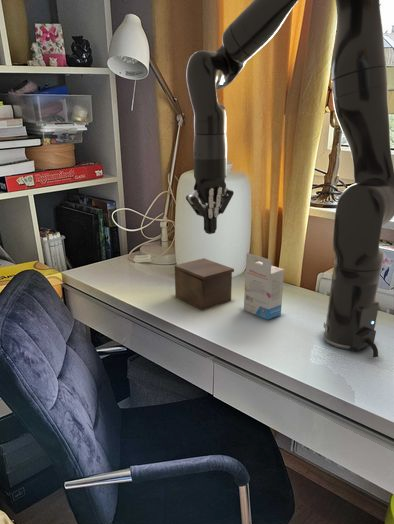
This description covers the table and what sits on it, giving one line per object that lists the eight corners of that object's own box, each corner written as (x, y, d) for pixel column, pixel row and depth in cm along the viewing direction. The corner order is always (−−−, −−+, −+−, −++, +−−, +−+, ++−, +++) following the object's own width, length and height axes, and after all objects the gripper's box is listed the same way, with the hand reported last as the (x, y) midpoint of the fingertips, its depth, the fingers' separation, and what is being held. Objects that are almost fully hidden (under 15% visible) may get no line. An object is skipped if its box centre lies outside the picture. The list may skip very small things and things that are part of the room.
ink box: (281, 315, 116) (286, 256, 109) (267, 320, 113) (271, 260, 106) (256, 304, 122) (260, 248, 115) (242, 309, 119) (245, 252, 112)
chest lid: (234, 271, 120) (234, 268, 119) (203, 280, 115) (203, 276, 114) (203, 261, 129) (203, 258, 128) (174, 268, 123) (174, 265, 123)
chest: (231, 301, 124) (231, 272, 120) (202, 310, 119) (201, 280, 115) (203, 288, 132) (203, 261, 129) (175, 296, 127) (174, 268, 123)
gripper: (196, 159, 101) (198, 241, 109) (243, 154, 108) (241, 231, 116) (176, 157, 106) (179, 234, 114) (222, 152, 113) (221, 225, 121)
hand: (210, 232), depth 115 cm, fingers closed
